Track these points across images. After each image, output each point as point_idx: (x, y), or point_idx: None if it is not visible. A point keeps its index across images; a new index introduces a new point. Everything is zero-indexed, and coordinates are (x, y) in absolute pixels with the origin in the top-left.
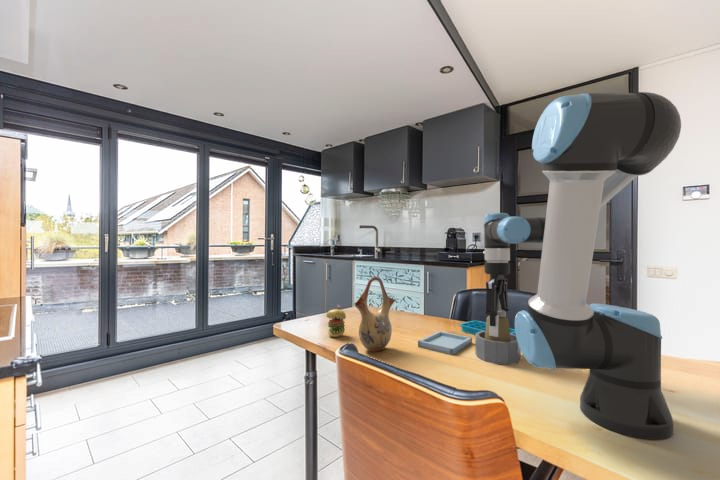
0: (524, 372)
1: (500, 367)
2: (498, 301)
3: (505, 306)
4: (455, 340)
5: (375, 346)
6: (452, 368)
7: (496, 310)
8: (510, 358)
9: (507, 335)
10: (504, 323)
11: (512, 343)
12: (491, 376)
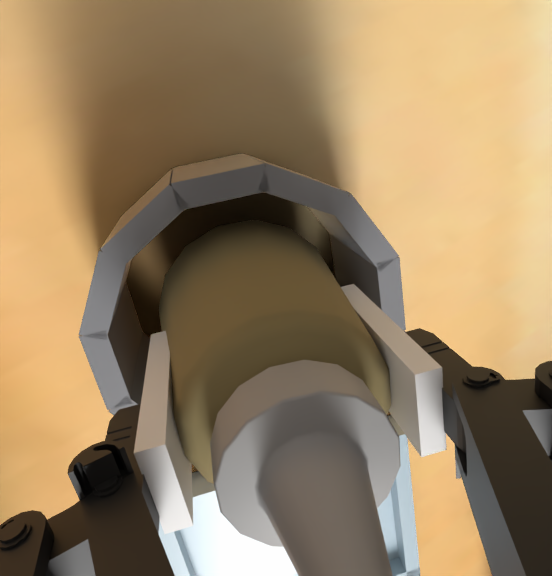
0: (351, 54)
1: (376, 182)
2: (509, 521)
3: (109, 518)
4: (221, 534)
5: None
6: (534, 312)
7: (510, 406)
8: (302, 174)
9: (279, 251)
10: (329, 303)
11: (311, 179)
12: (512, 149)
